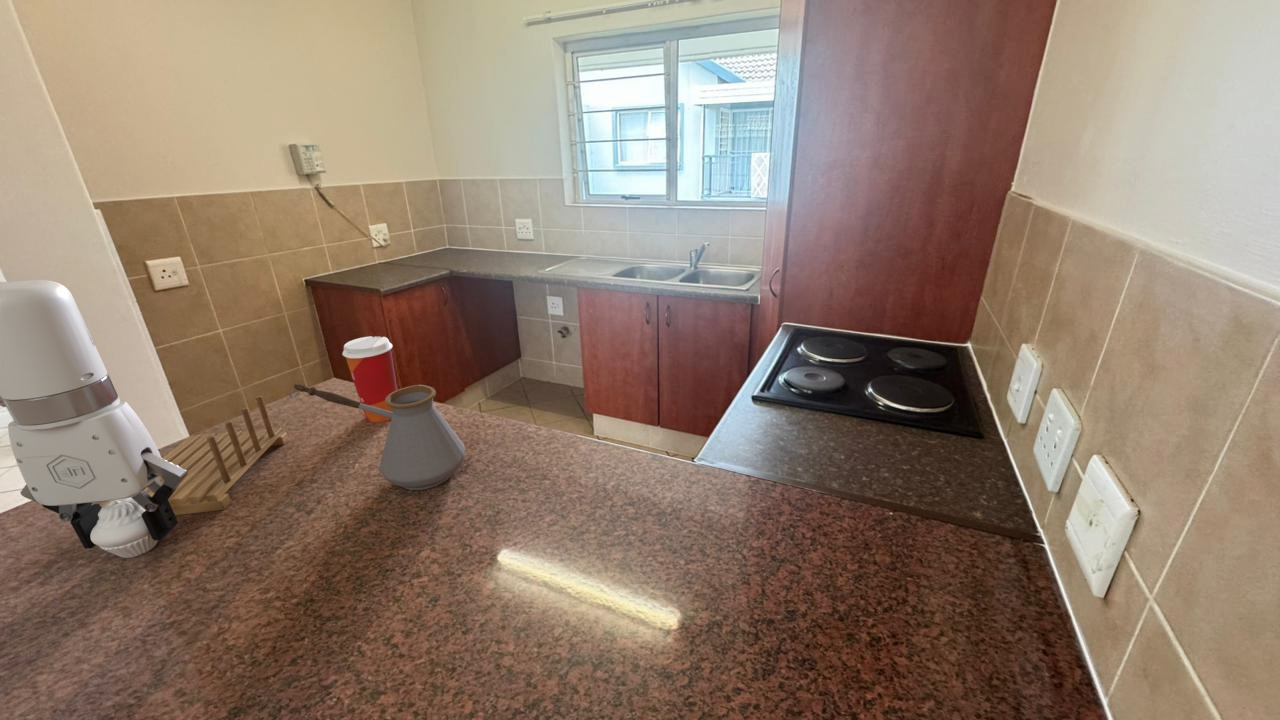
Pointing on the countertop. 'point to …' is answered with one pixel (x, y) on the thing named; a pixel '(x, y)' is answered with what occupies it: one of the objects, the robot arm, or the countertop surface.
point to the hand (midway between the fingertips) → (133, 535)
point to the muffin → (122, 529)
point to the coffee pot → (410, 437)
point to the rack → (218, 463)
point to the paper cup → (372, 372)
